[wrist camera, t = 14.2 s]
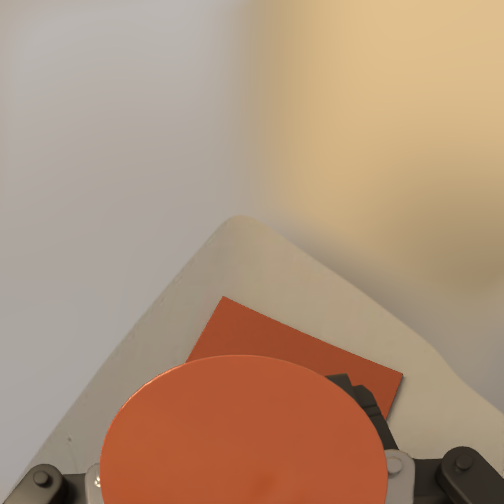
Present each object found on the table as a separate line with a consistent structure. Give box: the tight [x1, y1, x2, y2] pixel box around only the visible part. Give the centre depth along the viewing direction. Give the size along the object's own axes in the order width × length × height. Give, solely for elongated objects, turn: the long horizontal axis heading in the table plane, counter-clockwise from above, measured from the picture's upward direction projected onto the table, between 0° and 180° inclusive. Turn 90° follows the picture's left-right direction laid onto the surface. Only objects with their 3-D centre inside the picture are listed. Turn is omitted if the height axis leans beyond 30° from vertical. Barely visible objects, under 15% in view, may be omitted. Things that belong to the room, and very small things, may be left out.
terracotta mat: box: [185, 296, 403, 419], centre depth 21 cm, size 16×14×1 cm
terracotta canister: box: [99, 355, 388, 504], centre depth 8 cm, size 5×5×10 cm
